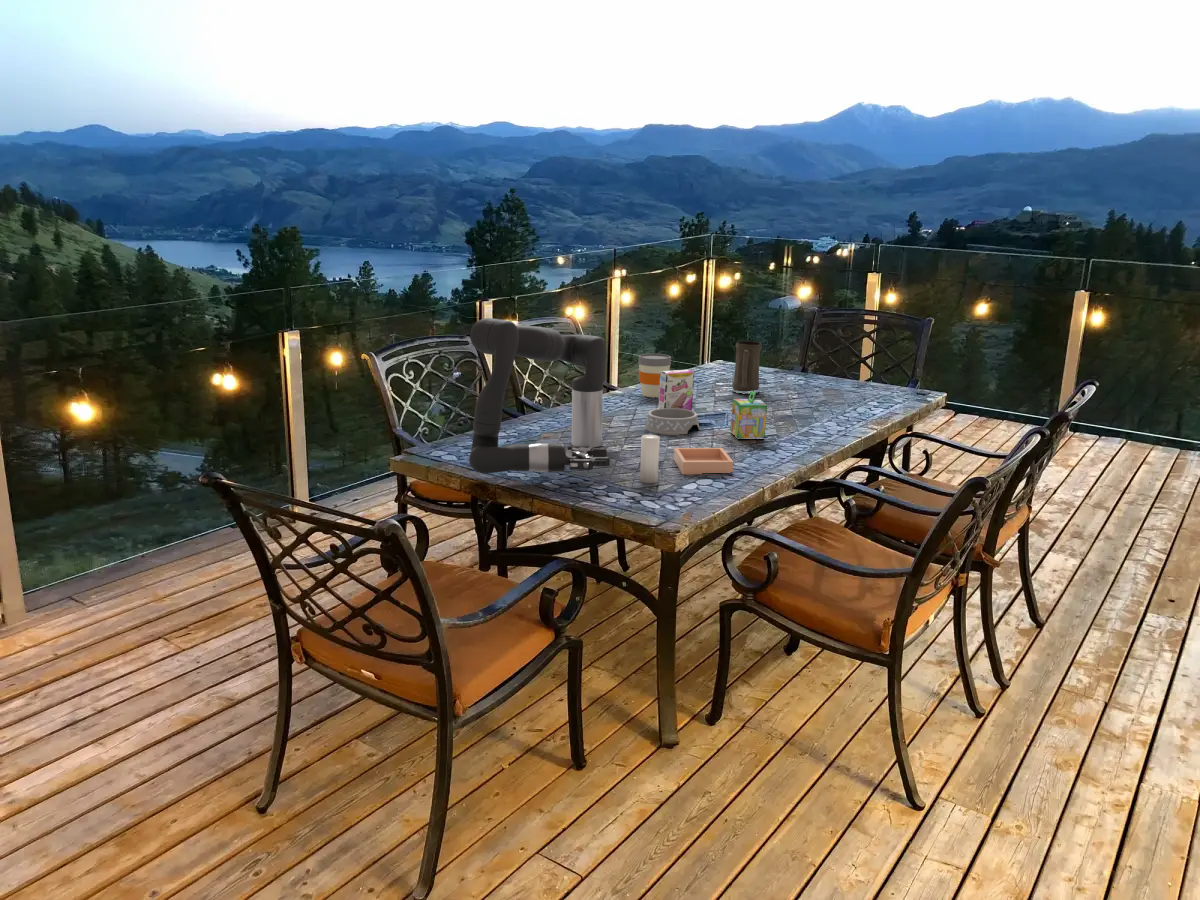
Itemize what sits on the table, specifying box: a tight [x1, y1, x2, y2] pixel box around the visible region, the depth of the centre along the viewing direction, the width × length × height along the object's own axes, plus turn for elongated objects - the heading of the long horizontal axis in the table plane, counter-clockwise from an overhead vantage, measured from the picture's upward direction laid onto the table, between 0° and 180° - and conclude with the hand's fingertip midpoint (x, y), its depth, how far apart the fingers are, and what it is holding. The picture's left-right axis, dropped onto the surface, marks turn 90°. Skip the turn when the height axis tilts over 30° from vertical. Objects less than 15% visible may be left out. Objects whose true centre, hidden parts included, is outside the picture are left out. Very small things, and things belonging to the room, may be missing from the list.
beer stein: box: [732, 340, 763, 391], centre depth 342 cm, size 15×11×20 cm
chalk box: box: [729, 390, 768, 438], centre depth 279 cm, size 9×9×15 cm
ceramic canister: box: [639, 434, 661, 484], centre depth 234 cm, size 5×5×12 cm
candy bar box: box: [657, 369, 695, 411], centre depth 301 cm, size 11×5×16 cm, turn 115°
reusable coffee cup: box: [637, 353, 672, 398], centre depth 336 cm, size 13×13×15 cm
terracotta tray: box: [673, 447, 734, 475], centre depth 248 cm, size 14×14×4 cm
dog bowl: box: [644, 408, 701, 436], centre depth 290 cm, size 17×18×5 cm
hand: (608, 457), depth 232 cm, fingers open, 8 cm apart
